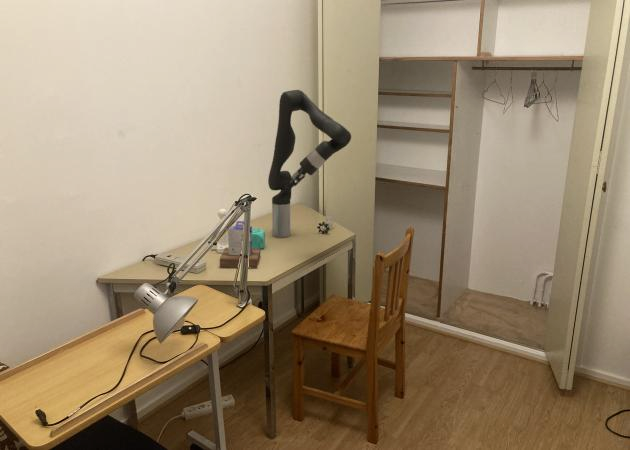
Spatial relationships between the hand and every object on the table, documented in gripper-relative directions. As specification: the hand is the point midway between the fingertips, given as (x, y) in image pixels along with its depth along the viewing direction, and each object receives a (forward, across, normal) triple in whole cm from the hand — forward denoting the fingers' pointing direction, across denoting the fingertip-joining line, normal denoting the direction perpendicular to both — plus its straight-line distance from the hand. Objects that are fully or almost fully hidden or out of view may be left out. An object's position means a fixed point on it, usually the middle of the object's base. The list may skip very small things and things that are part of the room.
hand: (286, 187), depth 234 cm
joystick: (+45, -8, +2) cm, 46 cm away
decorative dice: (+34, -14, +12) cm, 39 cm away
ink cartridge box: (+34, +6, +6) cm, 36 cm away
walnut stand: (+37, +6, +9) cm, 39 cm away
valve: (+10, -41, +36) cm, 56 cm away
